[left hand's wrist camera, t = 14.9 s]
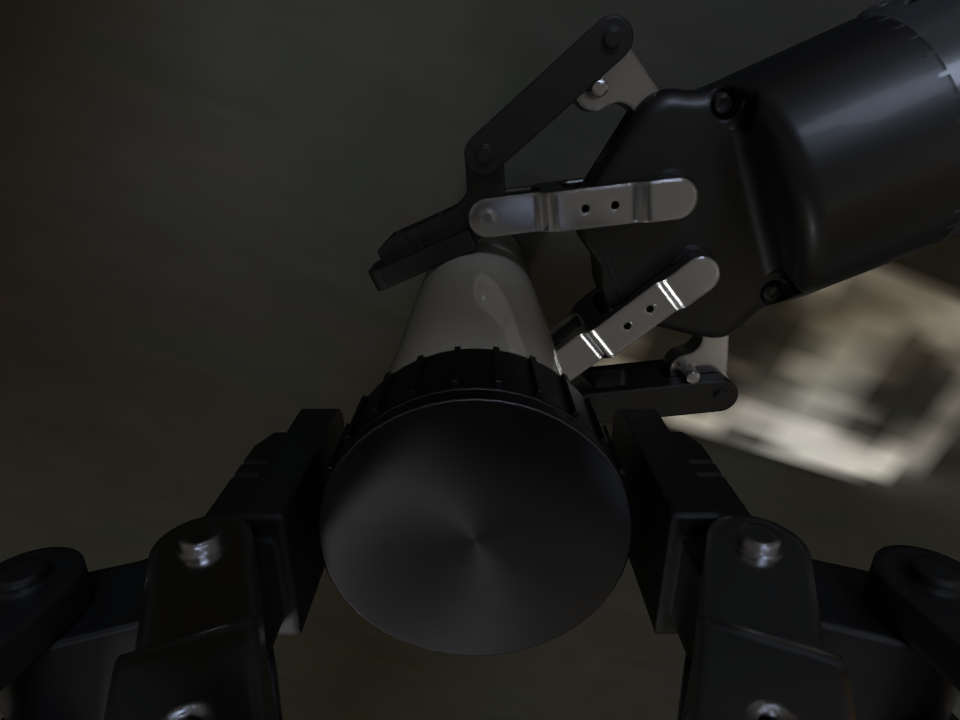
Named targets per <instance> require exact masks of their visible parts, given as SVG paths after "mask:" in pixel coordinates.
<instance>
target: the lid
mask: <svg viewBox="0 0 960 720" xmlns="http://www.w3.org/2000/svg"><path fill="white" fill-rule="evenodd" d="M326 472H327V473H330V476H329V478H328V480H327V482H326V485H325V487H324V490H323V494H322V496H321V499H320V503H319V511H318V519H317V528H318V541H319V546H320V551H321V556H322V559H323V561H324V564H325V567H326V570H327V572H328V574H329V576H330V578H331V580H332V581H333V583H334V585H335V587H336V588H337V590H338V591H339V592H340V594H341V595H342V596H343V598H344V599H345V600H346V601H347V602H348V603H349V604H350V606H351V607H352V608H353V609H354V610H355V611H356V612H357V613H358V614H360V615H361V616H362V617H363V618H365V619H366V620H367V621H368V622H369V623H371V624H372V625H374V626H375V627H377V628H378V629H380V630H382V631H383V632H385V633H386V634H388V635H391V636H393V637H395V638H397V639H399V640H401V641H403V642H406V643H408V644H411V645H414V646H417V647H419V648H423V649H427V650H431V651H435V652H440V653H446V654H453V655H466V656H485V655H498V654H505V653H512V652H516V651H520V650H524V649H528V648H531V647H534V646H537V645H540V644H543V643H545V642H548V641H550V640H552V639H554V638H556V637H558V636H560V635H562V634H564V633H566V632H567V631H569V630H571V629H572V628H574V627H575V626H577V625H579V624H580V623H581V622H582V621H584V620H585V619H586V618H587V617H589V616H590V615H591V614H592V613H593V612H594V611H595V610H596V609H597V608H598V607H599V606H600V605H601V604H602V603H603V602H604V601H605V600H606V598H607V597H608V596H609V594H610V593H611V592H612V590H613V589H614V587H615V586H616V584H617V582H618V580H619V578H620V577H621V575H622V573H623V570H624V568H625V565H626V562H627V560H628V557H629V552H630V547H631V543H632V531H633V520H632V511H631V502H630V499H629V497H628V494H627V490H626V487H625V485H624V483H623V480H622V478H621V476H622V475H625V471H624V469H623V466H622V464H621V461H620V459H619V457H618V454H617V452H616V450H615V447H614V445H613V443H612V440H611V438H610V436H609V433H608V431H607V428H606V426H605V425H604V426H602V425H601V422H600V420H599V417H598V415H597V412H596V410H595V408H594V405H593V403H592V400H591V399H590V398H589V397H587V398H586V399H585V398H584V397H583V396H582V395H581V394H580V393H579V391H578V390H577V389H576V388H575V387H574V386H573V385H572V384H571V383H570V381H569V378H568V376H567V375H566V374H564V373H562V374H561V375H559V374H558V373H556V372H555V371H553V370H552V369H550V368H549V367H547V366H545V365H543V364H541V363H539V362H537V360H536V357H534V356H531V355H530V357H529V358H527V357H524V356H521V355H518V354H515V353H510V352H505V351H500V349H499V347H495V346H493V349H480V348H472V349H461V346H456V347H454V350H451V351H446V352H440V353H437V354H433V355H430V356H427V357H424V355H423V354H422V355H420V356H418V357H417V360H416V361H415V362H412V363H410V364H408V365H406V366H404V367H403V368H401V369H399V370H398V371H396V372H395V373H393V374H392V373H391V372H390V371H389V372H388V373H387V374H386V375H385V377H384V380H383V382H382V383H381V384H379V385H378V386H377V387H376V388H375V389H374V391H373V392H372V393H371V394H370V395H369V396H368V397H367V396H365V395H364V396H363V397H362V398H361V400H360V402H359V404H358V407H357V409H356V411H355V414H354V416H353V418H352V420H351V423H350V424H348V423H347V424H346V427H345V429H344V431H343V433H342V436H341V438H340V440H339V442H338V444H337V447H336V449H335V451H334V453H333V456H332V458H331V460H330V462H329V464H328V467H327V469H326Z"/></svg>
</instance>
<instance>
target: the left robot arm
mask: <svg viewBox="0 0 960 720" xmlns="http://www.w3.org/2000/svg"><path fill="white" fill-rule="evenodd" d="M343 431H344V421H343V415H342V412H341V410H340V409H302V410H301V411H300V412H299V414H298V415H297V417H296V419H295V420H294V422H293V423H292V425H291V426H290V428H289V430H288V431H287V433H273V434H272V435H270V436H269V437H267V438H266V439H264V440H263V441H262V442H260V443H259V444H257V445H256V446H254V448H253V449H252V451H251V452H250V454H249V455H248V456H247V458H246V459H245V461H244V465H241V466H240V468H239V469H238V470H237V472H236V473H235V477H234V478H232V479H231V480H230V482H229V483H228V484H227V486H226V487H225V489H224V490H223V491H222V493H221V494H220V496H219V497H218V498H217V500H216V501H215V503H214V504H213V505H212V507H211V508H210V510H209V511H208V513H207V514H206V515H205V517H201V518H197V519H194V520H191V521H188V522H186V523H183V524H181V525H179V526H177V527H175V528H174V529H172V530H170V531H169V532H168V533H166V534H165V535H163V536H162V537H161V538H160V539H159V540H158V541H157V542H156V544H155V545H154V546H153V548H152V549H151V551H150V554H149V558H148V559H145V560H142V561H138V562H134V563H129V564H125V565H120V566H115V567H110V568H106V569H101V570H96V571H91V572H88V569H87V566H86V563H85V560H84V558H83V556H82V554H81V553H80V552H79V551H77V550H75V549H72V548H67V547H48V548H42V549H37V550H33V551H29V552H26V553H23V554H19V555H17V556H14V557H12V558H9V559H7V560H5V561H3V562H1V563H0V710H1V713H2V715H3V718H2V719H1V720H283V717H282V709H281V700H280V692H279V683H278V675H277V667H276V661H275V655H274V650H273V645H274V642H275V640H276V637H277V635H301V632H302V629H303V626H304V623H305V621H306V618H307V615H308V612H309V609H310V607H311V604H312V601H313V598H314V595H315V593H316V590H317V587H318V584H319V581H320V578H321V576H322V573H323V570H324V567H325V564H324V561H323V559H322V556H321V551H320V546H319V541H318V528H317V519H318V511H319V503H320V499H321V496H322V494H323V490H324V487H325V485H326V482H327V480H328V478H329V476H330V473H327V472H326V469H327V467H328V464H329V462H330V460H331V458H332V456H333V453H334V451H335V449H336V447H337V444H338V442H339V440H340V438H341V436H342V433H343ZM612 443H613V445H614V447H615V450H616V452H617V454H618V457H619V459H620V461H621V464H622V466H623V469H624V471H625V475H622V476H621V478H622V480H623V483H624V485H625V487H626V490H627V494H628V497H629V499H630V502H631V511H632V520H633V531H632V543H631V547H630V552H629V559H630V562H631V565H632V568H633V570H634V573H635V576H636V579H637V582H638V585H639V588H640V591H641V593H642V596H643V599H644V602H645V605H646V608H647V611H648V613H649V616H650V619H651V622H652V625H653V628H654V631H655V634H679V637H680V639H681V642H682V644H683V647H684V649H685V652H686V655H685V661H684V667H683V675H682V683H681V692H680V700H679V709H678V717H677V720H959V719H958V718H957V717H956V716H955V715H954V714H953V713H952V710H953V708H954V706H955V704H956V701H957V699H958V697H959V694H960V562H958V561H956V560H954V559H952V558H950V557H948V556H945V555H943V554H940V553H938V552H934V551H931V550H928V549H924V548H920V547H914V546H908V545H892V546H887V547H884V548H882V549H879V550H878V551H877V552H876V553H875V555H874V558H873V561H872V564H871V567H870V570H869V571H864V570H860V569H855V568H850V567H846V566H841V565H836V564H831V563H827V562H822V561H818V560H814V559H811V554H810V551H809V549H808V548H807V546H806V545H805V544H804V542H803V541H802V540H801V539H800V538H799V537H798V536H797V535H795V534H794V533H792V532H791V531H790V530H788V529H786V528H785V527H783V526H781V525H779V524H777V523H774V522H772V521H769V520H766V519H763V518H759V517H755V516H751V515H750V513H749V512H748V511H747V509H746V508H745V506H744V505H743V503H742V502H741V501H740V499H739V498H738V496H737V495H736V493H735V492H734V491H733V489H732V488H731V486H730V485H729V484H728V482H727V481H726V479H725V478H724V477H722V476H721V472H720V471H719V469H718V468H717V466H716V465H715V464H713V463H712V459H711V458H710V456H709V455H708V454H707V452H706V451H705V449H704V448H703V447H702V445H700V444H699V443H698V442H696V441H695V440H693V439H692V438H690V437H689V436H687V435H686V434H684V433H683V432H670V431H669V430H668V428H667V426H666V425H665V423H664V422H663V420H662V419H661V417H660V415H659V414H658V412H657V411H656V409H654V408H618V409H616V411H615V414H614V420H613V430H612Z"/></svg>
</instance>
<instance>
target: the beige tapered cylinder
mask: <svg viewBox="0 0 960 720" xmlns="http://www.w3.org/2000/svg"><path fill="white" fill-rule="evenodd" d="M456 346H461V349H472V348H480V349H493V346H495V347H499V349H500V351H505V352H510V353H515V354H518V355H521V356H524V357H527V358H529V357H530V355H531V356H534V357H536V360H537V362H539V363H541V364H543V365H545V366H547V367H549V368H550V369H552V370H553V371H555V372H556V373H558V374H559V375H561V374H562V373H564V372H563V369H562V366H561V363H560V360H559V357H558V354H557V352H556V349H555V346H554V343H553V340H552V337H551V334H550V331H549V329H548V326H547V323H546V320H545V317H544V314H543V311H542V308H541V305H540V303H539V300H538V297H537V294H536V291H535V288H534V285H533V282H532V279H531V277H530V274H529V271H528V268H527V265H526V262H525V259H524V256H523V253H522V251H521V248H520V246H519V244H518V243H517V241H516V240H515V238H514V237H513V236H512V235H505V236H496V237H485V238H482V239H480V240H478V241H477V249H476V250H474V251H472V252H469V253H467V254H465V255H463V256H460V257H458V258H455V259H452V260H450V261H448V262H446V263H444V264H442V265H439V266H437V267H435V268H433V269H430V270H428V271H427V272H426V274H425V277H424V280H423V282H422V285H421V288H420V291H419V293H418V296H417V299H416V301H415V304H414V307H413V309H412V312H411V315H410V318H409V320H408V323H407V326H406V328H405V331H404V334H403V336H402V339H401V342H400V344H399V347H398V350H397V353H396V355H395V358H394V361H393V363H392V366H391V369H390V372H391V373H392V374H393V373H395V372H396V371H398V370H399V369H401V368H403V367H404V366H406V365H408V364H410V363H412V362H415V361H416V360H417V357H418V356H420V355H422V354H423V355H424V357H427V356H430V355H433V354H437V353H440V352H446V351H451V350H454V347H456Z"/></svg>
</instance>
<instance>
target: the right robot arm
mask: <svg viewBox="0 0 960 720" xmlns="http://www.w3.org/2000/svg"><path fill="white" fill-rule="evenodd" d="M632 43H633V30H632V27H631V25H630V23H629V22H628V21H627V19H625V18H624V17H622V16H620V15H616V14H612V15H607V16H605V17H603V18H602V19H600V20H599V21H598V22H597V23H596V24H595V25H594V26H593V27H592V28H590V29H589V30H588V31H587V32H586V33H585V34H584V35H583V36H582V37H581V38H579V39H578V40H577V41H576V42H575V43H574V44H573V45H572V46H571V47H570V48H569V49H567V50H566V51H565V52H564V53H563V54H562V55H561V56H560V57H559V58H558V59H557V60H556V61H554V62H553V63H552V64H551V65H550V66H549V67H548V68H547V69H546V70H545V71H544V72H542V73H541V74H540V75H539V76H538V77H537V78H536V79H535V80H534V81H533V82H532V83H531V84H529V85H528V86H527V87H526V88H525V89H524V90H523V91H522V92H521V93H520V94H519V95H517V96H516V97H515V98H514V99H513V100H512V101H511V102H510V103H509V104H508V105H507V106H506V107H504V108H503V109H502V110H501V111H500V112H499V113H498V114H497V115H496V116H495V117H494V118H492V119H491V120H490V121H489V122H488V123H487V124H486V125H485V126H484V127H483V128H482V129H481V130H479V131H478V132H477V133H476V134H475V135H474V136H473V137H472V138H471V139H470V140H469V141H468V143H467V145H466V147H465V152H464V156H465V165H466V180H467V191H466V194H465V196H464V197H463V199H462V200H461V201H460V202H459V203H458V204H456V205H454V206H452V207H450V208H447V209H445V210H443V211H441V212H439V213H436V214H434V215H432V216H430V217H427V218H425V219H423V220H421V221H419V222H416V223H414V224H412V225H410V226H408V227H405V228H403V229H401V230H398V231H396V232H394V233H393V234H392V235H391V236H390V237H389V238H388V239H387V240H386V242H385V243H384V244H383V245H382V246H381V247H380V248H379V250H378V251H377V252H378V254H379V256H380V258H381V260H379V261H377V262H376V263H375V264H374V265H373V266H372V268H371V269H370V270H369V271H368V272H369V274H370V276H371V278H372V280H373V282H374V284H375V286H376V288H377V290H378V291H380V290H384V289H386V288H389V287H391V286H393V285H396V284H398V283H400V282H403V281H405V280H407V279H410V278H412V277H414V276H416V275H419V274H421V273H423V272H426V271H428V270H430V269H433V268H435V267H437V266H439V265H442V264H444V263H446V262H448V261H450V260H452V259H455V258H458V257H460V256H463V255H465V254H467V253H469V252H472V251H474V250H476V249H477V241H478V240H480V239H482V238H485V237H496V236H505V235H513V234H521V233H530V232H539V231H545V232H562V231H571V230H576V232H577V235H578V237H579V238H580V239H581V241H582V242H583V243H584V245H585V246H586V248H587V249H588V250H589V252H590V254H591V264H592V276H593V278H594V281H595V284H596V286H597V287H596V288H594V289H593V290H592V291H591V292H589V293H588V294H587V295H585V296H584V297H583V298H582V299H580V300H579V301H578V302H577V303H576V304H575V305H574V307H573V309H572V311H571V312H570V313H569V314H568V315H567V316H565V317H564V318H563V319H561V320H560V321H559V322H558V323H556V324H555V325H554V326H552V327H551V328H550V329H549V331H550V334H551V337H552V340H553V343H554V346H555V349H556V352H557V354H558V357H559V360H560V363H561V366H562V369H563V372H564V374H566V375H567V376H568V378H569V381H570V383H571V384H572V385H573V386H574V387H575V388H576V389H577V390H578V391H579V393H580V394H581V395H582V396H583V397H584V398H585V399H586V398H587V397H589V398H590V399H591V400H592V403H593V405H594V408H595V410H596V412H597V415H598V417H599V420H600V422H601V423H606V422H613V420H614V414H615V411H616V409H618V408H654V409H656V411H657V412H658V414H659V415H660V417H666V416H676V415H686V414H696V413H706V412H715V411H723V410H726V409H728V408H730V407H731V406H732V405H733V404H734V403H735V402H736V400H737V397H738V390H737V388H736V386H735V385H734V384H733V383H732V382H731V381H730V380H729V378H728V377H727V361H728V341H729V335H730V334H732V333H734V332H736V331H737V330H739V329H740V328H741V327H742V326H743V325H744V324H745V323H746V322H747V321H748V320H749V319H750V318H751V317H752V316H753V315H754V314H756V313H757V312H758V311H760V310H761V309H763V308H765V307H766V306H769V305H771V304H775V303H778V302H782V301H786V300H790V299H794V298H798V297H801V296H804V295H807V294H810V293H812V292H815V291H818V290H820V289H823V288H825V287H828V286H830V285H833V284H836V283H838V282H841V281H843V280H846V279H849V278H851V277H854V276H856V275H859V274H861V273H864V272H867V271H869V270H872V269H874V268H877V267H880V266H882V265H885V264H887V263H890V262H892V261H895V260H897V259H900V258H903V257H905V256H908V255H910V254H913V253H915V252H918V251H921V250H923V249H926V248H928V247H931V246H933V245H936V244H938V243H941V242H944V241H946V240H949V239H951V238H954V237H957V236H959V235H960V0H889V1H884V2H881V3H879V4H877V5H875V6H873V7H871V8H869V9H867V10H866V11H864V12H862V13H861V14H859V15H858V16H857V18H855V19H852V20H850V21H848V22H846V23H843V24H841V25H839V26H837V27H835V28H832V29H830V30H828V31H826V32H824V33H821V34H819V35H817V36H815V37H813V38H810V39H808V40H806V41H804V42H802V43H799V44H797V45H795V46H793V47H790V48H788V49H786V50H784V51H782V52H779V53H777V54H775V55H773V56H771V57H768V58H766V59H764V60H762V61H759V62H757V63H755V64H753V65H751V66H748V67H746V68H744V69H742V70H740V71H737V72H735V73H733V74H731V75H728V76H726V77H724V78H722V79H720V80H717V81H715V82H713V83H711V84H709V85H706V86H704V87H701V88H698V89H696V90H680V89H663V90H658V89H657V87H656V86H655V84H654V83H653V81H652V80H651V78H650V77H649V75H648V74H647V72H646V71H645V69H644V68H643V66H642V65H641V63H640V62H639V60H638V59H637V57H636V56H635V54H634V53H633V51H632V50H631V46H632ZM572 103H574V104H575V105H576V106H577V107H578V108H579V109H580V110H582V111H586V112H592V111H598V110H601V109H603V108H605V107H606V106H608V105H609V104H618V105H620V106H622V107H623V108H624V109H625V110H626V111H627V112H626V114H625V115H624V117H623V118H622V120H621V121H620V123H619V125H618V126H617V128H616V129H615V131H614V133H613V134H612V136H611V137H610V139H609V141H608V142H607V144H606V145H605V147H604V149H603V150H602V152H601V153H600V155H599V156H598V158H597V160H596V161H595V163H594V164H593V166H592V168H591V169H590V171H589V172H588V174H587V176H586V177H584V178H576V179H568V180H559V181H551V182H543V183H538V184H534V185H530V186H522V187H514V188H505V179H504V163H506V162H507V161H508V160H509V159H510V158H511V157H512V156H513V155H515V154H516V153H517V152H518V151H519V150H520V149H521V148H522V147H523V146H525V145H526V144H527V143H528V142H529V141H530V140H531V139H532V138H534V137H535V136H536V135H537V134H538V133H539V132H540V131H541V130H543V129H544V128H545V127H546V126H547V125H548V124H549V123H550V122H552V121H553V120H554V119H555V118H556V117H557V116H558V115H559V114H561V113H562V112H563V111H564V110H565V109H566V108H567V107H568V106H570V105H571V104H572ZM625 323H627V324H625ZM624 324H625V325H624ZM655 326H656V327H661V328H665V329H670V330H675V331H680V332H684V333H689V334H693V336H692V337H691V339H690V340H689V341H688V342H687V343H685V344H683V345H681V346H677V347H674V348H672V349H670V350H668V352H667V353H666V354H665V356H664V359H662V360H652V361H643V362H633V363H624V364H614V365H605V366H595V367H590V366H592V365H593V364H595V363H596V362H597V361H599V360H600V359H602V358H611V357H613V356H615V355H617V354H618V353H620V352H621V351H623V350H624V349H625V348H627V347H628V346H629V345H631V344H632V343H633V342H635V341H636V340H637V339H639V338H640V337H642V336H643V335H644V334H646V333H647V332H648V331H650V330H651V329H652V328H654V327H655Z"/></svg>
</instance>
